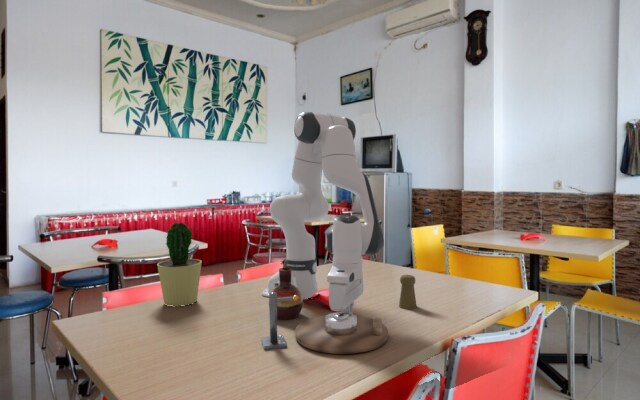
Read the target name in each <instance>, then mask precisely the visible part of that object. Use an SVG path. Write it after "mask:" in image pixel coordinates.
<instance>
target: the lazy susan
mask: <svg viewBox="0 0 640 400" xmlns="http://www.w3.org/2000/svg"><path fill="white" fill-rule="evenodd" d="M326 315H327V314H326ZM326 315H325V314H324V315H319V316H314V317H311V318H308V319H305V320H303V321H302V322H300V323H299V324H298V325H297V326H296V327H295V329H294V330H295V331H294V332H295V333H294V336H295V337H294V338H295V339H296V341H297V342H298V343H299V344H300V345H301V346H302V347H304V348H307V349H309V350H311V351H315V352H320V353H324V354H325V353H326V354H327V353H328V354H335V355H346V354H347V355H350V354H359V353H364V352H365V353H366V352H369V351H372V350H375V349H378V348H380V347H383V345H384V344H386V343H387V341H388V339H389V330H388V327H387V326H386V325H385V324H384V323H383V320H382V319H381V318H378V317H377V318H371V317H367V316H362V315H356V314H354V315H355V316H356V317H357V332H356V333H354V334H352V335H347V336H336V335H331V334H328V333H327V332H326V331H325V316H326Z"/></svg>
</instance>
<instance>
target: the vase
mask: <svg viewBox="0 0 640 400" xmlns="http://www.w3.org/2000/svg"><path fill="white" fill-rule="evenodd" d="M278 271H279V277H280V284H279V285H278V286H277V287H275V288H274V289H273V291H272V292H277V298H282V297H293V296H294V295H297V296H298V297H299V299H298V301H294V300H291V301H280V302H277V320H292V319H295V318H297V317H298V316H299V315H300V314H301V312H302V310H303V304H304V303H303V301H304V299H303V298H302V295H301V292H300V291H299V290H298V288H296V287H295V286H294V285H292V284H291V271H292V269H291V268H283V267H280V268H278Z"/></svg>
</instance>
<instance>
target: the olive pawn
mask: <svg viewBox="0 0 640 400" xmlns="http://www.w3.org/2000/svg"><path fill="white" fill-rule="evenodd" d="M399 283H400V284H401V287H400V295H399V301H398V302H399V304H398V307H399V308H400V309H403V310H414V309H417V308H418V307H417V301H416V300H417V299H416V292H415V283H416V278H415V275H413V274H403V275H401V276H400V278H399Z"/></svg>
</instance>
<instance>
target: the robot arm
mask: <svg viewBox="0 0 640 400" xmlns="http://www.w3.org/2000/svg"><path fill="white" fill-rule="evenodd" d="M293 129H294V135H295V137H296V140H298V142H297V146H296V149H295V152H294V153H295V154H294V158H293V165H292V171H291V179H292V180H293V182H294V183H295V184H297V185H298V193H297V194H295V193H293V194H283V195H279V196H278V197H274V199H272V201H271V203H270V205H269V214H270V216H271V219H272V220H273V221H274V222H275V223H276V224H278V226H279V227H280V229H281V230H282V232H283V235H284V237H285V239H284V240H285V245H286V246H285V247H286V248H285V249H286V258H285V259H283V260H281V261H280V265H282V268H291V269H292V271H291V284H292V285H294V286H295V287H296V288H298V290H299V291H300V292H301V295H302V298H303V300H309V299H308V298H310V297H311V296H312V295H313V294H315V293H317V292H320V290H319V285H318V280H317V270H318V269H317V268H318V267H317V265H318V264H317V257H316V239H315V237H314V235H313V234H311V233H309V232H308V231H307V229H306V226H305V225H306V224H305V223H310V222H312V223H313V222H317V221H319V220H320V221H321V220H322V219H325V218H326V217H327V215H328V214H329V209H330V205H329V202H328V199H327V198H326V196H325V195H324V193H323V190H322V184H321V183H322V175H323V176H324V178H325V179H326V180H327V181H328V182H329V183H331V184H332V185H333V186H335V187H338V188H339V189H343V190H346V191H348V192H351V193H352V194H354V195H355V196H356V197H357V198H358V200H359V204H360V208H361V213H362V216H363V221H364V222H363V223H361V220H360V218H359V217H358V216H356V215H354V214H353V215H352V214H341V215H337V216H336V217H334V219H333V224H331V225H330V226H328V228H326V229H325V231H324V236H325V237H324V239H325V241H324V242H325V243H324V249H325V250H326V251H328V253H330V254H331V255H333V257H332V266H331V269H330V271H329V272H328V274H327V276H326V281H327V282H328V283H329V284H328V304H329V305H328V306H329V308H330V310H331V311H332V312H344V313H350V314H353V310H354V305H355V301H357V299H358V298H360V297H361V296H362V295H363V293H364V270H363V269H364V265H363V264H364V260H363V256H362V255H364V256H365V255H366V256H375V255H377V254H378V253H380V251H382V249H383V248H384V246H385V238H384V237H385V236H384V233H383V229H382V226H381V223H380V221H379V216H378V212H377V207H376V204H375V203H376V202H375V200H374V196H373V192H372V186H371V184H370V180H369V178H368V176H367V175H366V173H363V172H362V171H361V170H360V168H359V166H358V162H357V155H356V154H357V152H356V146H355V141H354V140H355V139H356V133H357V129H356V125H355V122H354V121H353V120H352V119H350V118H348V117H345V116H339V115H336V114H331V113H320V112H312V111H307V112H305V111H303V112H301V113H299V115H298V116H297V117H296V118H295V122H294V128H293ZM322 173H323V174H322ZM267 283H268V285H267V288H265V289H264V290H263V291H262V293H261V295H262V296H263V297H267V298H269V293H270V292H272V291H273V289H274V288H275V287H277V286H278V285H279V284H280V277H279V270H278V271H277V272H275V273H274V274H273V275H272V276H271V277H270V278H269V280H268V282H267Z"/></svg>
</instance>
